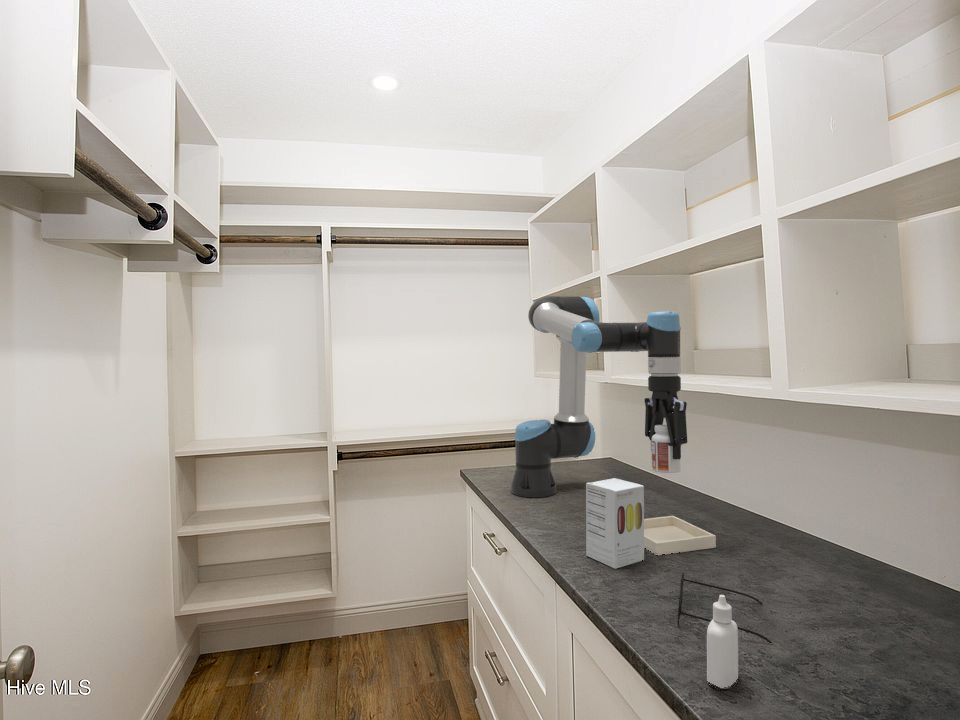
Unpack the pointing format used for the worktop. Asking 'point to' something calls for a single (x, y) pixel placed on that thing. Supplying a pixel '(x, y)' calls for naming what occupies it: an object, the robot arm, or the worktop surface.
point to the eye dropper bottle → (722, 646)
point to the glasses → (709, 619)
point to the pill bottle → (660, 449)
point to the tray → (675, 536)
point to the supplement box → (615, 522)
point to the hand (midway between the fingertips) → (665, 469)
